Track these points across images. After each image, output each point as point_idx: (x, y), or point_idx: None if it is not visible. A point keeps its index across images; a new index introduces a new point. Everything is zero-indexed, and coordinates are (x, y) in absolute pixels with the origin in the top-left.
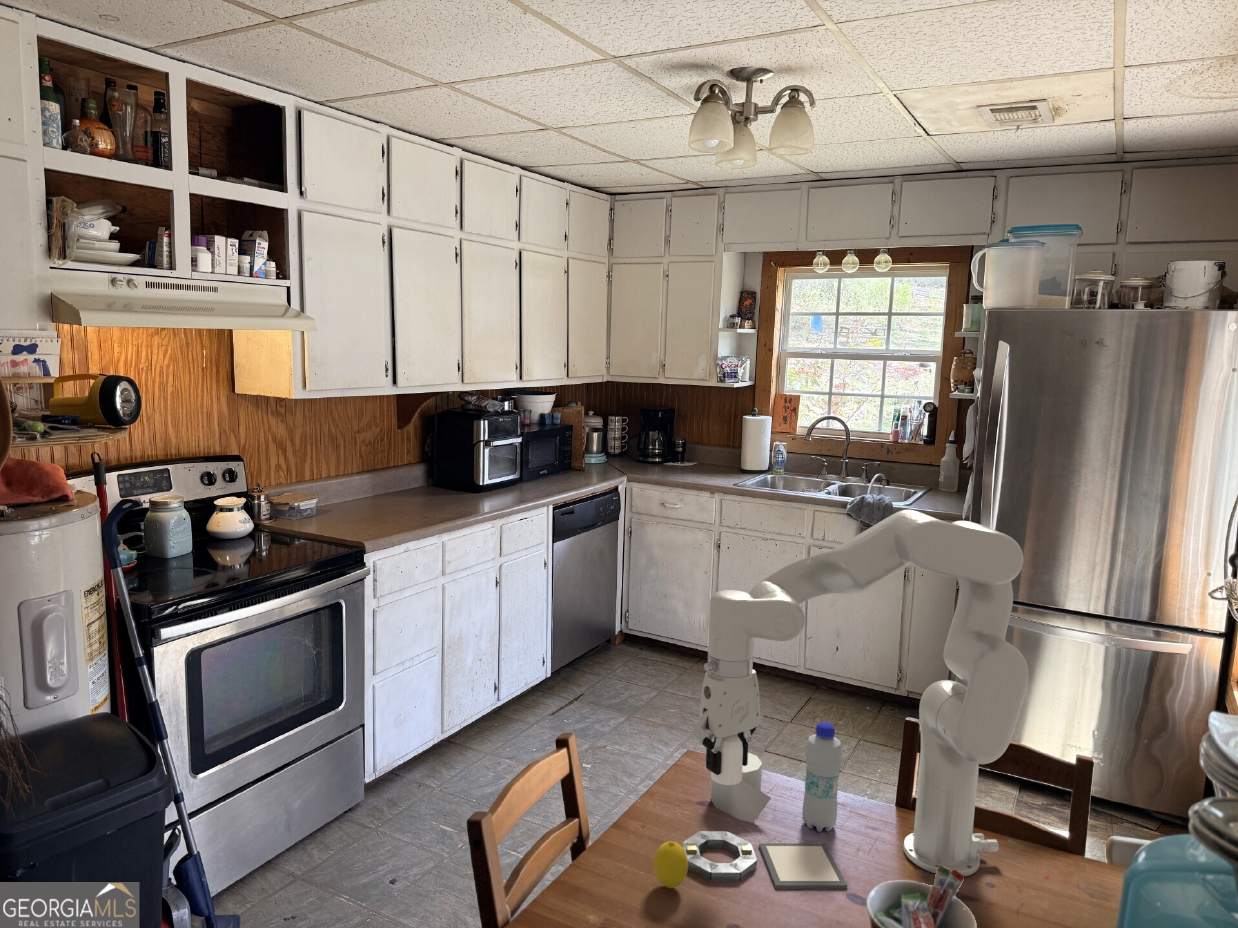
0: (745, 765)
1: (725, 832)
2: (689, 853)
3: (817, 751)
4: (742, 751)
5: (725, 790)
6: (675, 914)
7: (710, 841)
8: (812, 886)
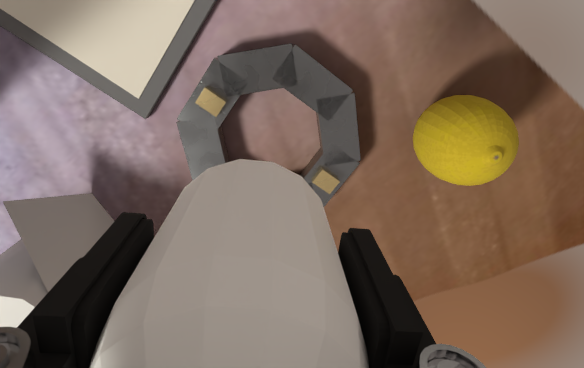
0: (139, 213)
1: None
2: (336, 174)
3: None
4: (158, 265)
5: None
6: (500, 48)
7: None
8: None
